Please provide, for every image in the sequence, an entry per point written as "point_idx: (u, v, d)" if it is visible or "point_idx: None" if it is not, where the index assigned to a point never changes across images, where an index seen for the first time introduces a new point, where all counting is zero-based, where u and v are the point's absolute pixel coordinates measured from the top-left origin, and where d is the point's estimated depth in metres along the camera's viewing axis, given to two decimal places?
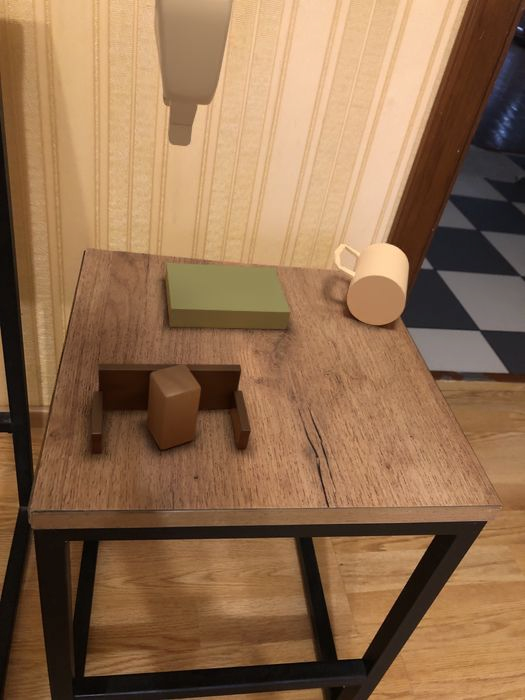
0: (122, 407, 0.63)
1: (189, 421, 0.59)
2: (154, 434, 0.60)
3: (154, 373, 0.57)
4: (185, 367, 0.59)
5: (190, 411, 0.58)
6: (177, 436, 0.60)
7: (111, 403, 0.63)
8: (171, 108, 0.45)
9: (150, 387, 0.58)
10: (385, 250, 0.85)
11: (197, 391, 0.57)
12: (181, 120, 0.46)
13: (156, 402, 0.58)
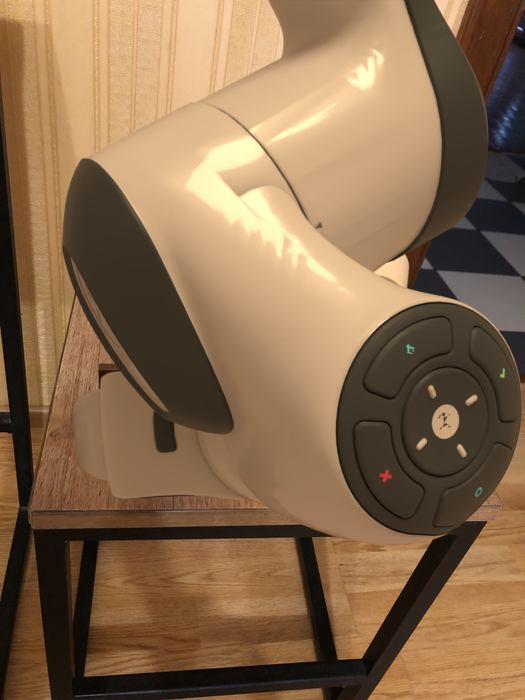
0: None
1: None
2: None
3: None
4: None
5: None
6: None
7: None
8: None
9: None
10: None
11: None
12: None
13: None
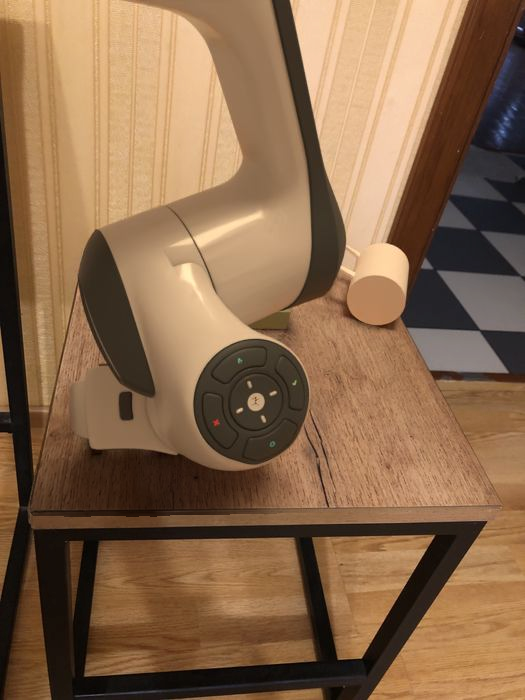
0: None
1: None
2: None
3: None
4: None
5: None
6: None
7: None
8: None
9: None
10: (385, 250, 0.85)
11: None
12: None
13: None
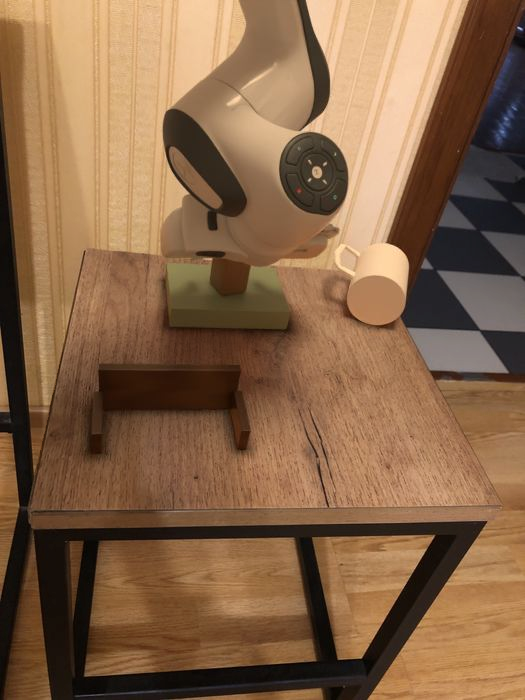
0: (122, 407, 0.63)
1: (244, 271, 0.77)
2: (217, 284, 0.78)
3: None
4: None
5: None
6: (235, 285, 0.78)
7: (111, 403, 0.63)
8: None
9: None
10: (385, 250, 0.85)
11: None
12: None
13: None
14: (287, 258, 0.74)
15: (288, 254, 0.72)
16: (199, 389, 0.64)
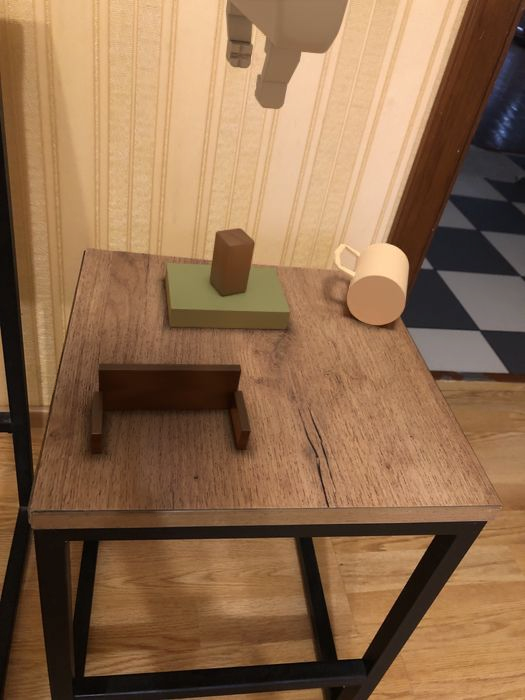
0: (122, 407, 0.63)
1: (244, 271, 0.77)
2: (217, 284, 0.78)
3: (219, 231, 0.75)
4: (241, 229, 0.77)
5: (246, 262, 0.77)
6: (235, 285, 0.78)
7: (111, 403, 0.63)
8: (269, 61, 0.37)
9: (215, 244, 0.76)
10: (385, 250, 0.85)
11: (252, 245, 0.75)
12: (277, 76, 0.39)
13: (220, 254, 0.76)
14: None
15: None
16: (199, 389, 0.64)
